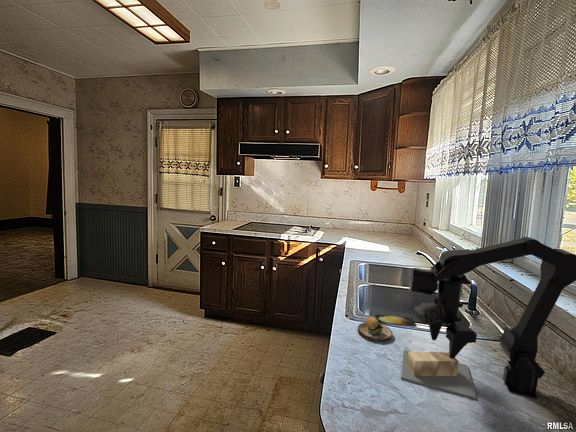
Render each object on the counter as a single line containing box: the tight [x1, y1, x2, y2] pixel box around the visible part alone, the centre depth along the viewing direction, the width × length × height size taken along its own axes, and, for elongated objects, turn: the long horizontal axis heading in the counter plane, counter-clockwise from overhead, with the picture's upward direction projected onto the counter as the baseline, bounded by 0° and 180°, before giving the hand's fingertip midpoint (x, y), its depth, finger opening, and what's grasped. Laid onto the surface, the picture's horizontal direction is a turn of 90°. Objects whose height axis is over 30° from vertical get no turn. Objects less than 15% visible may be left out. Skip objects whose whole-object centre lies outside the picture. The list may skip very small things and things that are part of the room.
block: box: [407, 351, 460, 376], centre depth 89 cm, size 4×4×12 cm
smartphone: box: [373, 313, 418, 328], centre depth 121 cm, size 7×1×15 cm
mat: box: [401, 349, 477, 400], centre depth 90 cm, size 18×15×1 cm
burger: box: [357, 316, 393, 344], centre depth 110 cm, size 12×12×8 cm
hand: (442, 348), depth 89 cm, fingers open, 9 cm apart
